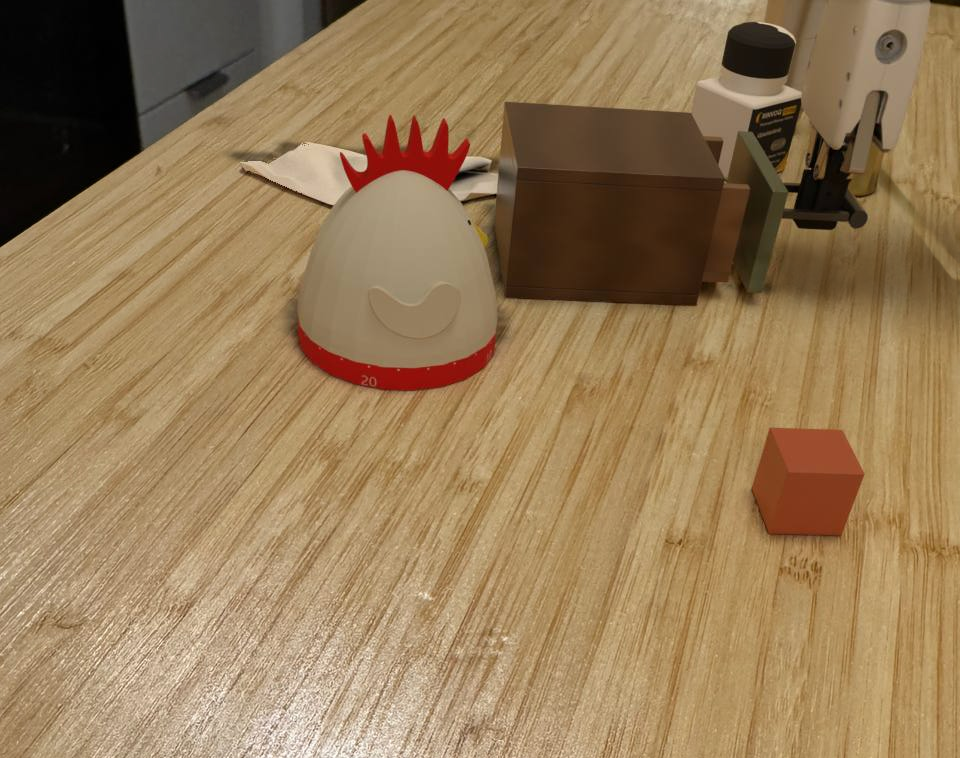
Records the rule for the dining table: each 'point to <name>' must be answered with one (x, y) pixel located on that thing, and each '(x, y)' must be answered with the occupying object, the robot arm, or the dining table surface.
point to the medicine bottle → (751, 93)
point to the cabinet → (604, 204)
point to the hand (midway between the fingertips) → (812, 224)
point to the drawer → (757, 214)
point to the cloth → (327, 181)
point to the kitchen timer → (399, 273)
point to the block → (806, 481)
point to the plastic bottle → (797, 33)
